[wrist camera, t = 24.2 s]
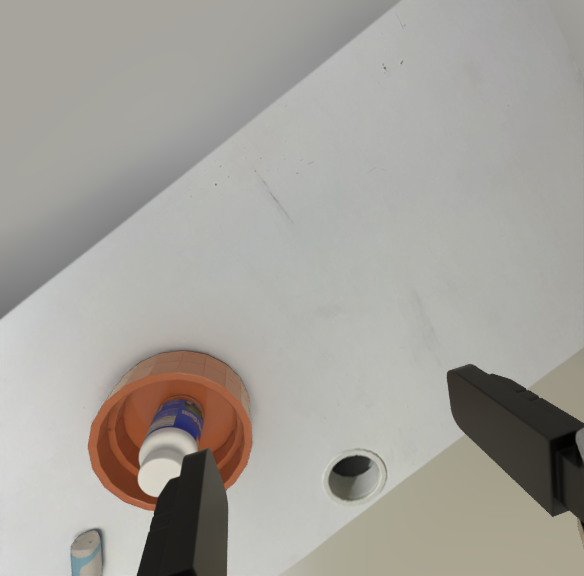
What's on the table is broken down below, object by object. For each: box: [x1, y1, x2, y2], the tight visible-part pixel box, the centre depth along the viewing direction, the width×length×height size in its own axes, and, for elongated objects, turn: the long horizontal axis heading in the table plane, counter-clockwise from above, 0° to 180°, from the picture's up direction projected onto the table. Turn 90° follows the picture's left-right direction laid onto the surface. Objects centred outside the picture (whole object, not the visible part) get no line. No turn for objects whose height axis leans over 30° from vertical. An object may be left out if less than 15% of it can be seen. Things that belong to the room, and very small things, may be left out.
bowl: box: [88, 351, 253, 511], centre depth 36 cm, size 16×16×6 cm
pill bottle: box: [138, 395, 204, 497], centre depth 34 cm, size 5×5×10 cm
